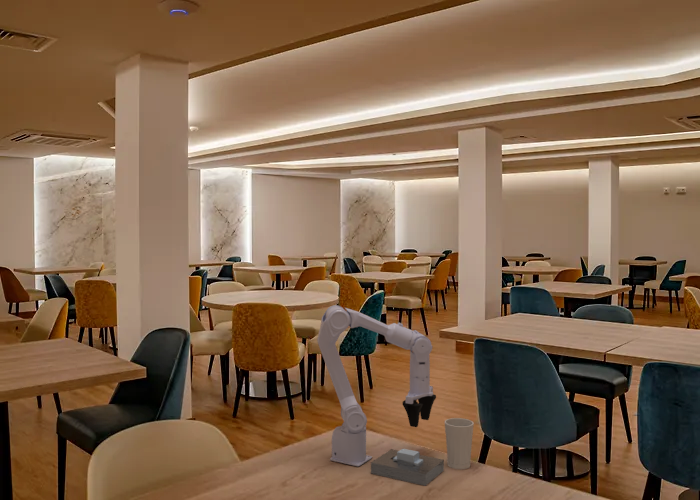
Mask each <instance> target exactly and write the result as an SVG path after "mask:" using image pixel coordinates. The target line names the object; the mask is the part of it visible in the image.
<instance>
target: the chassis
mask: <svg viewBox="0 0 700 500" xmlns="http://www.w3.org/2000/svg"><path fill="white" fill-rule="evenodd" d="M398 451H399V450H398V449H392V448H391V449H390V450H388V451H386V452H384V453H383V454H381V455H380V456H378V457H377V458H376V459H374V460H372V461H371V462H370V474H372V475H376V476H382V477H384V478H388V479H389V478H390V479H393V480H398V481H402V482H408V483H411V484H415V485H420V486H427V485H429V484H430V483H431V482H432V481H433V480H435V479H436V477H438V476H440V474H441V473H443V472H444V471H445V460H444V459H442V458H437V457H432V456H427V455H421V454H419V459H423V463H421V464H420V465H418V466H416V465H415V466H412V465H407V464H403V463H398V462H397V461H393V458H394V457H396V456H397V452H398Z"/></svg>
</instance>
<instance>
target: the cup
mask: <svg viewBox="0 0 700 500" xmlns="http://www.w3.org/2000/svg"><path fill="white" fill-rule="evenodd" d="M474 424H475V423H474V421H472V420H470V419H467V418H463V417H451V418H447V419H445V420H444V432H445V433H444V434H445V439H446V440H445V441H446V442H445V443H446V456H447V459H446V462H447V464H446V465H447V467H449V468H450V469H454V470H466V469H469V468H471V459H472V458H471V457H472V447H473V434H474V433H473V432H474Z"/></svg>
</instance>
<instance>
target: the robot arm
mask: <svg viewBox="0 0 700 500" xmlns="http://www.w3.org/2000/svg"><path fill="white" fill-rule="evenodd" d="M320 321H321V322H320V327H319V330H318V336H317V339H316V342H317V344H318V348H319V350H320V352H321V356H322V358H323V360H324V363H325V366H326V369H327V371H328V375H329V377H330V379H331V382H332V386H333V387H334V391H335V393H336V397H337V398H338V400H339V405H340V407H341V408H340V416H341V419H342V420H343V423H342V424H341V425H340V426H339V425H338V426H336V427H335V428H334V430H333V431H332V435H331V457H330V458H329V461H332V462H336V463H341V464H345V465H350V466H353V467H360V466H362V465H364V464H365V463H367V462H368V461H370V460H371V459H372V458H373V456H372V455H368V454H367V423H368V419H367V415H366V413H364V411H363V409H362V406H361V405H360V404H359V403H358V402H357V399H356V397H355V394H354V392H353V388H352V385H351V383H350V381H349V379H348V378H349V377H348V374H347V373H346V369H345V367H344V364H343V361H342V359H341V357H340V354H339V350H338V349H337V346H336V343H337V341H338V339H339V338H340V336H341V334H342V333H344V332H346V330H347V329H348V328H350V329H354V328H358V327H360V328H361V327H362V328H364V329H366V330H369V331H372V332H373V333H377V334H380V335H382V336H384V339H385V342H387V343H389V344H391V345H394V346H397V347H399V348H402V349H404V350H409V390H408V392H407V395H405V400H403V401H402V406H403V408H404V410H405V412H406V415H407V419H408V423H409V426H410V427H413V428H417V427H418V426H419V420H420V419H421V420H423V421H429V420H430V415H431V412H432V408H433V405H434V403H435V401H436V400H437V399H436V398H437V395H436V394H434V392H433V391H434V387H433V386H432V385H431V384H430V381H431V380H430V378H431V377H430V374H431V373H430V372H431V367H430V366H431V363H430V362H431V361H430V354H431V352H432V350H433V347H434V346H433V345H432V341H431V340H430V339H429V337H427V336H426V335H424V334H422V333H421V332H419V331H418V330H416V329H414V330H413V329H410V328H407V327H405V326H404V324H403V323H401V322H397V323H395V322H393V323H390V324H386V323H384V322H382V321H379V320H377V319H375V318H373V317H371V316H369V315H366V314H364V313H362V312H360V311H357V310H354V309H351V308H347V307H342V306H341V305H337V304H336V305H331V306H329V307H328V308H327V309H326V310H325V311H324V314H323V315H322V316H321V320H320Z"/></svg>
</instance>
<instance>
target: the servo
mask: <svg viewBox="0 0 700 500" xmlns="http://www.w3.org/2000/svg"><path fill="white" fill-rule="evenodd" d="M419 455H420V451H417V450H412V449H407V448H402V449H400V450H398V452H397V456H396V457H394V458H393V461H397V462H398V463H403V464H407V465H412V466H415V465H416V466H418V465H420V464H421V463H423V459H419Z"/></svg>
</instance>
